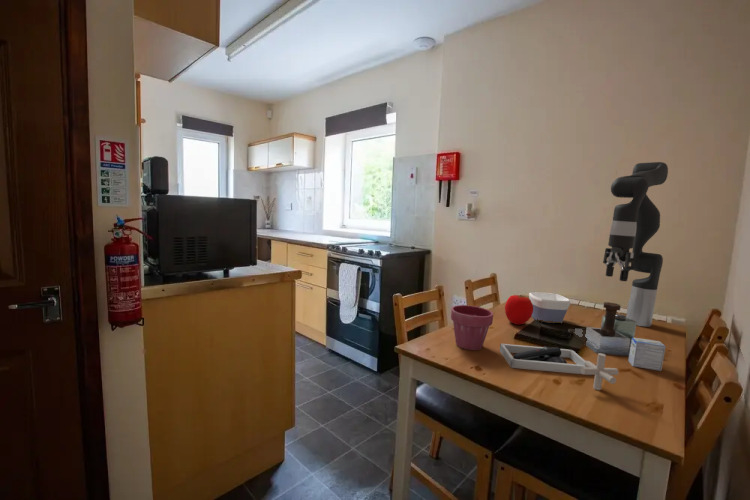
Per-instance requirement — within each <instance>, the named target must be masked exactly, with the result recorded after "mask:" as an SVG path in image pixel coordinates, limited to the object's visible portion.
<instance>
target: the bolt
mask: <svg viewBox="0 0 750 500" xmlns="http://www.w3.org/2000/svg"><path fill="white" fill-rule="evenodd" d="M602 307H603V309H605V314H604V315H605V321H604V327H602V328H601V327H600V328H601V333H602V336H610V337H613V336H615V330H614V323H615V317H616V314H618V313H617V312H618V311H621V305H620V304H618V303H614V302H609V301H605V302H603V306H602Z"/></svg>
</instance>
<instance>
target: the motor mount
mask: <svg viewBox="0 0 750 500" xmlns="http://www.w3.org/2000/svg"><path fill="white" fill-rule="evenodd" d="M604 321H605V314H604V315H602V318H601V325H600V327H592V326H591V327H589V326H587V327H586V334H585V337H586V338H587V341H586V345H585V346H586V347H588V348H589V349H590V350H591V351H592V352H594V353H595V354H598V353H602V354H605V355H612V356H613V355H615V356H625V357H627V356H628V357H629V353H630V347H631V341H632V338H635V334H636V330H637V329H636V328H637V325H636V323H637V322H636V321H634V320H631V319H629V318H626V315H623V314H619V313H616V317H615V323H614V330H615V336H613V337H610V336H602V333H601V328H602V327H604ZM574 328H575V327H574ZM582 329H583V328H575V332H574V333H575V334H576V335H578V336H579V337H582V336H583V334H582V332H583V330H582Z"/></svg>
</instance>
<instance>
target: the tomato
mask: <svg viewBox="0 0 750 500" xmlns="http://www.w3.org/2000/svg"><path fill="white" fill-rule="evenodd" d="M504 312H505V316H506V318H507V320H508V322H511V323H512V324H514V325H518V326H520V325H523V324H526V323H527V322H528V321H529V320H530V319H531V318H532V314H533V305H532V302H531V300H530V298H528V297H527V296H525V295H522V294H520V295H517V294H513V295H510V296H509V297H508V298H507V300H506V302H505V305H504Z"/></svg>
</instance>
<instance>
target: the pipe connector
mask: <svg viewBox="0 0 750 500" xmlns="http://www.w3.org/2000/svg"><path fill="white" fill-rule="evenodd" d="M606 357H607V354H602V353H597V358H596V359H597V360H596V364H594V362H592V361H589V360H585V363H584V365H585V366H586V367H587V368H583V367H582V368H581V369H580V371H581V373H582V374H581V375H586V374H588V375H587V376H592V375H594V381H593V386H592V388H593V389H594V390H597V391H601V390H602V384H603V379H604V380H606V382H608V383H610V384H611V385H614V384H616V382H617V378H616V377H615V376H618V375H619V370H618V368H616V367H605V364H606Z"/></svg>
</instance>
